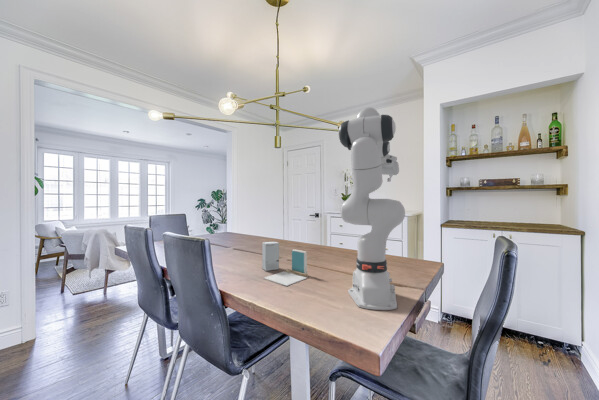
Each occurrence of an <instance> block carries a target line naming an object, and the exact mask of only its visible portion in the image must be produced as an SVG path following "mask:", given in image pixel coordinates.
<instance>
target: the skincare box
mask: <svg viewBox="0 0 599 400" xmlns="http://www.w3.org/2000/svg"><path fill="white" fill-rule="evenodd" d="M261 245H262V247H261V249H262V251H261V256H262V257H261V260H262V261H261V267H262V268H261V269H262V270H263V271H265V272H268V271H274V270H275V271H276V270H279V269H280V242H277V241H263V242H261Z"/></svg>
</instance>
